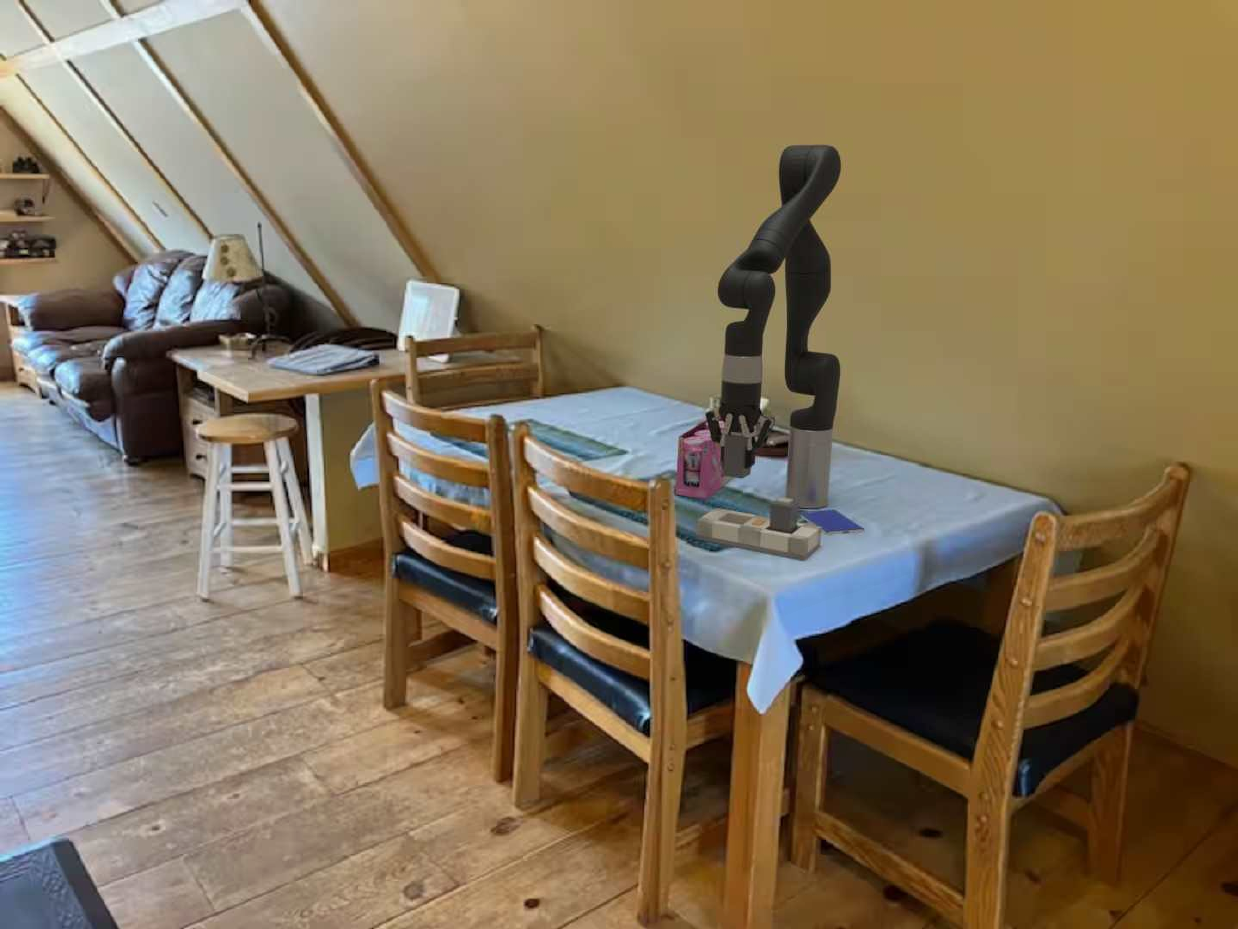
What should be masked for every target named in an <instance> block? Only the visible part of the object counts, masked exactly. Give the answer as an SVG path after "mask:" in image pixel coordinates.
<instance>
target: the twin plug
mask: <svg viewBox="0 0 1238 929" xmlns="http://www.w3.org/2000/svg"><path fill="white" fill-rule="evenodd" d="M798 503H799V502H797V501H793V499H789V498H785V497H779V498H777V499H776V500H774V501H773V502H772V503H770V512H769V513H770V514H769V516H770V529H769V530H772V531H777V532H782V533H788V534H793V533H794V532H795V531H796V530H797V522H798V515H799V507H798Z"/></svg>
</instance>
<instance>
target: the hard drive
mask: <svg viewBox="0 0 1238 929" xmlns="http://www.w3.org/2000/svg"><path fill="white" fill-rule="evenodd" d="M800 516H801V517H800V518H802V519H803V520H805V521H807V523H809V525H814V526H820V527H821V533H823V534H824V535H826V536H827V535H828V536H834V535H833V534H840V535H851V533H852V534H860V533H859V532H864V533H865V528H864V527H862V526H861V525H859V524H858V523H856V522H854V521H853V520H851V519H850V518H849V517H847V516H845V515H844V514H843V513H841V512H839V511H838V510H836V509H824V510H812V511H811V510H810V511H808V510H807V511H802V512H800Z"/></svg>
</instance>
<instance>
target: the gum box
mask: <svg viewBox="0 0 1238 929" xmlns="http://www.w3.org/2000/svg"><path fill="white" fill-rule="evenodd" d="M718 421H719V425H720V429H721V433H722V431H723V428H724V425H725V423H724V422H723V420H722V418H720V419H719V420H718ZM723 466H724V465H723V462H721V445H720V444H719V443H717V442H713V441H712V439H711V435H710V431H709V427H708V423H707V419H705V420H704V421H702V422H701V423H700V424H697V425H696V426H694V427H692V428H691V429H689V430H687V431H685V432H684V433H682V434H681V435H678V447H677V461H676V478H675V480H676V481H675V495H677V496H678V495H679V496H683V497H690V498H696V499H703V500H708V499H709V498H710V497H711V496H713V495H715V494H716V493H717V492H718V491H720V490H721V489H723V487H724V486H726V485H728V484H729V483H730V482H731V481H732V480H734V479H736V478H735V477H728V476H723Z"/></svg>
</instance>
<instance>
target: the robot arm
mask: <svg viewBox="0 0 1238 929" xmlns="http://www.w3.org/2000/svg"><path fill="white" fill-rule="evenodd" d="M841 169H842V160H841V156H840V154H839V151H838V150H837V148H836V147H835V146H834V145H833V146H832V145H828V144H797V145H793V144H792V145H788V146H786V147H785V148H784V149H783V151H782V152H781V155H780V158H779V163H778V181H779V192H780V200H781V206H780V207H779V208H778V209H777V210H775V211H774V212H772V213H771V214H770V215H769V216H768V217H767V218H766V219H764V221H763V222H762V223H761V224H760V225H759V228H758V229H757V231H756V233H755V235H754V236H753V238H752V240H750V244H749V245H748V248H746V250H745V251H743V252H742V253H741V254H739V255H738V257H737V258H736V259H735V260H734V261H733V262H732V263H731V264H730V265H729V266H728V267H727V268H726V269H725V271H724V272H723V273H722V275H721V277H720V279H719V282H718V286H717V296H718V300H719V302H720V303H721V304H722V305H723V306H724V307H727V308H731V309H740V310H748V311H747V315H746V316H745V318H744V320H738V321H733V322H730V323H729V324H727V326H726V328H725V333H724V334H725V335H724V336H725V337H724V355H723V361H722V368H721V369H722V370H721V387H720V388H721V389H720V390H721V391H720V392H721V393H720V402H721V403H720V406H719V408H718V409H711V410H709V411H707V412H705V420H707V423H708V427H709V431H710V435H711V439H712V441H713V442H717V443H719V444H720V445H721V462H723V465H724V445H725V435H729V434H731V431H736V430H737V431H740V432H742V433H743V437H745V438H746V448H747V450H746V456H745V469H750V468H751V469H752V468H753V466H754V465H755V463H756V454H757V453H756V452H757V449H761V448H763V447H764V446H766V444H767V442H768V440H769V437H770V436H771V432H772V431H773V428H774V425H775V423H776V419H775V417H768V416H766V415H764V414H763V411H762V409H761V401H762V400H761V399H762V385H763V383H762V382H763V366H764V365H763V343H764V341H763V340H764V332H765V329H766V325H767V322H768V319H769V316H770V312H771V309H772V306H773V303H774V300H775V297H776V284H775V280H774V279H773V277H772V274H775V273H776V272H778V271H779V269H780V268H781V266H782V265H783V262H784V276H785V278H784V279H785V280H784V281H785V282H784V283H785V296H786V298H785V299H786V337H785V338H786V339H785V352H784V353H785V355H784V381H785V385H786V387H787V389H788V391H789V392H792V393H795V394H798V395H805V396H814V399H813V404H812V405H811V406H808V407H805V408H800V409H796V410H794V411H792V412H791V413H790V417H789V429H788V430H789V431H788V432H789V433H788V445H787V446H788V450H787V462H786V463H787V465H786V482H785V494H784V495H785V497H784V498H789V499H793V501H797V502H799V503H798V508H802V509H820V508H824V507H826V506H827V505H828V504H829V503H828V500H829V490H830V489H829V488H830V478H831V477H830V476H831V475H830V474H831V463H832V462H831V461H832V449H833V433H834V422H835V421H834V420H835V417H836V412H837V405H838V395H839V388H840V381H841V362H840V360H839V358H838V357H837V356H836V355H835V354H832V353H827V352H818V351H810V350H809V346H808V342H809V334H810V330H811V328H812V325H813V323H814V321H815V319H817V316H818V315H819V313H820V311H821V310H822V308H823V307H824V305H825V303H826V302H827V300H828V298H829V297H830V293H831V289H832V271H831V270H832V266H831V263H832V262H831V261H832V260H831V256H830V253H829V251H828V249H827V247H826V245H825V244H824V242H823V240H822V239H821V237H820V235H819V234H818V231H817V230H816V229H815V227H814V226H813V222H811V218H812V217H813V216H814V215H815V214H816V212H817V211H818V210H819V208H820V207H821V206H822V205H823V203H824V202H825V201H826V200H827V199H828V197H829V196H830V195H831V193H832V192H833V191H834V189H835V187H836V185H837V183H838V182H839V179H840V175H841V172H842V170H841ZM719 419H722V420H723V422H724V423H725V425H724V428H723V431H722V433H721V429H720V425H719V421H718V420H719ZM758 422H760V426H759V427H760V428H761V429H760V432H759V433H758V437H757V438H756V436H757V431H756V427H755V426H756V424H757V423H758Z"/></svg>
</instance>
